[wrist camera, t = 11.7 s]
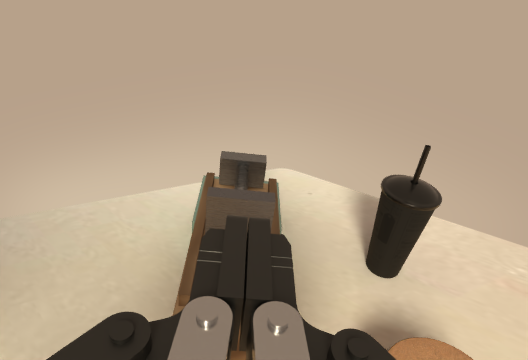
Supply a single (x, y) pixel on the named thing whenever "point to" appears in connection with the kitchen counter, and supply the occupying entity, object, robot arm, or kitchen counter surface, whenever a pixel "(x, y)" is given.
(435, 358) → the lidded jar
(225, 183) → the plunger
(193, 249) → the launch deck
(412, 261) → the kitchen counter surface
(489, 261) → the kitchen counter surface
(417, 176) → the drinking cup
